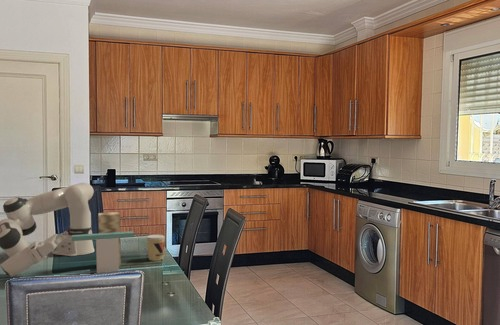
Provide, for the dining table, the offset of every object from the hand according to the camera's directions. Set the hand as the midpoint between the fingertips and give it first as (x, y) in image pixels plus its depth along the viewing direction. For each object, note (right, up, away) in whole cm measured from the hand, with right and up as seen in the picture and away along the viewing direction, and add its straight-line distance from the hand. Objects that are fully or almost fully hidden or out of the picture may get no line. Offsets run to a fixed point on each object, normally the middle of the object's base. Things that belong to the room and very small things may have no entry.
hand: (65, 234), depth 208 cm
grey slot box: (+18, -19, +6) cm, 26 cm away
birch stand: (+15, -18, +17) cm, 29 cm away
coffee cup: (+36, -18, +29) cm, 49 cm away
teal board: (+16, -3, +5) cm, 17 cm away
